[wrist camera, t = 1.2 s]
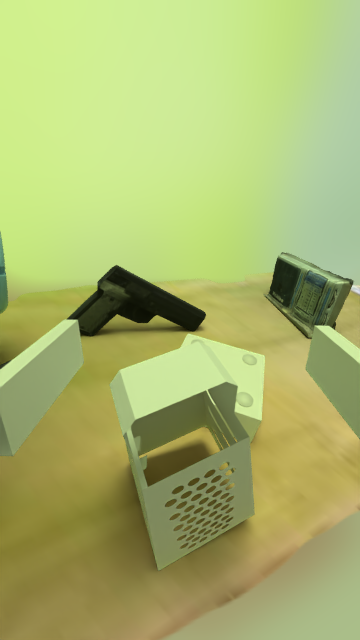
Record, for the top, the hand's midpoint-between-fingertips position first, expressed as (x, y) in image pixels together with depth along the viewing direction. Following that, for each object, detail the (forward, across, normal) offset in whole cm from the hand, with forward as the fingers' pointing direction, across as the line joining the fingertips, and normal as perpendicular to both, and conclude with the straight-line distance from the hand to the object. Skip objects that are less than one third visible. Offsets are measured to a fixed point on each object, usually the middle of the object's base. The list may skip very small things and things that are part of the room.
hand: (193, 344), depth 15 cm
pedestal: (+23, +4, -20) cm, 31 cm away
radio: (+54, +27, -17) cm, 63 cm away
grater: (+7, 0, -21) cm, 22 cm away
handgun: (+37, -11, -16) cm, 41 cm away
